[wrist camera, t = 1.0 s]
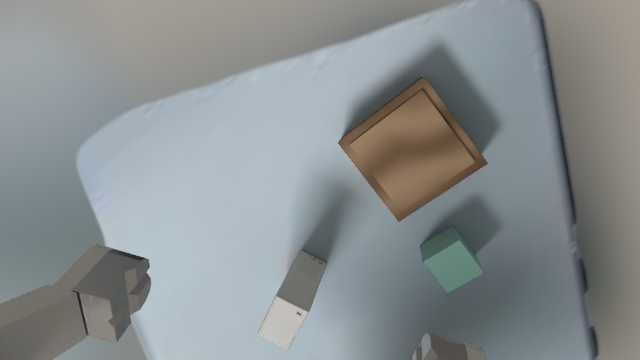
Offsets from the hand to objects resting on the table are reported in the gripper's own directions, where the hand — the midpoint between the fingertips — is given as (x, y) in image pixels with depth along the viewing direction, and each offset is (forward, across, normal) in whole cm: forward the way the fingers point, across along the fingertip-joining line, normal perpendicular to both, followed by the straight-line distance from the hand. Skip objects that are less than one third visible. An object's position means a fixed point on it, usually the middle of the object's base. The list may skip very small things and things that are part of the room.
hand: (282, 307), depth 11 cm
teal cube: (+33, +17, -23) cm, 44 cm away
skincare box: (+32, 0, -32) cm, 45 cm away
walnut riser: (+37, +8, -12) cm, 40 cm away
